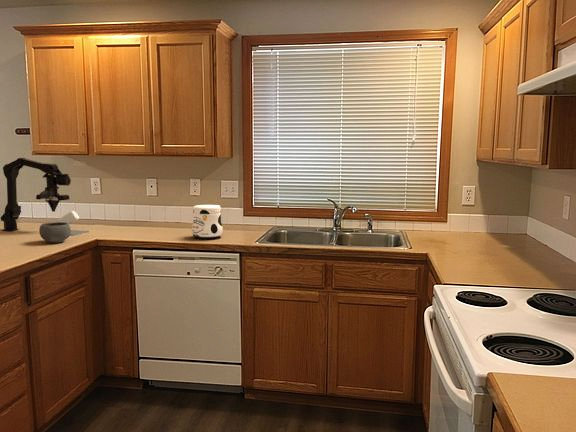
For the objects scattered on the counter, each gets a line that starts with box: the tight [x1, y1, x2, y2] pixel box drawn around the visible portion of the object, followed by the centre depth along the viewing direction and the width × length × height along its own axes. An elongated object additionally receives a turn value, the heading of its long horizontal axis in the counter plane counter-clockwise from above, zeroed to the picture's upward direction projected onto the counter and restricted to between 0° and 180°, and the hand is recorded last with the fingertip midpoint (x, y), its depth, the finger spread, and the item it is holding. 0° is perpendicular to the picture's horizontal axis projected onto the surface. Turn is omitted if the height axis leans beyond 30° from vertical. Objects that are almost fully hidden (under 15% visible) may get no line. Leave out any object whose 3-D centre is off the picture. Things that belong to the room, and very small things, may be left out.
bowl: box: [38, 221, 72, 244], centre depth 262 cm, size 15×15×10 cm
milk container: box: [191, 204, 224, 239], centre depth 281 cm, size 17×17×18 cm
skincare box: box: [51, 210, 80, 225], centre depth 295 cm, size 8×6×15 cm
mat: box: [69, 229, 89, 236], centre depth 291 cm, size 16×14×1 cm
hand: (53, 211), depth 292 cm, fingers closed
